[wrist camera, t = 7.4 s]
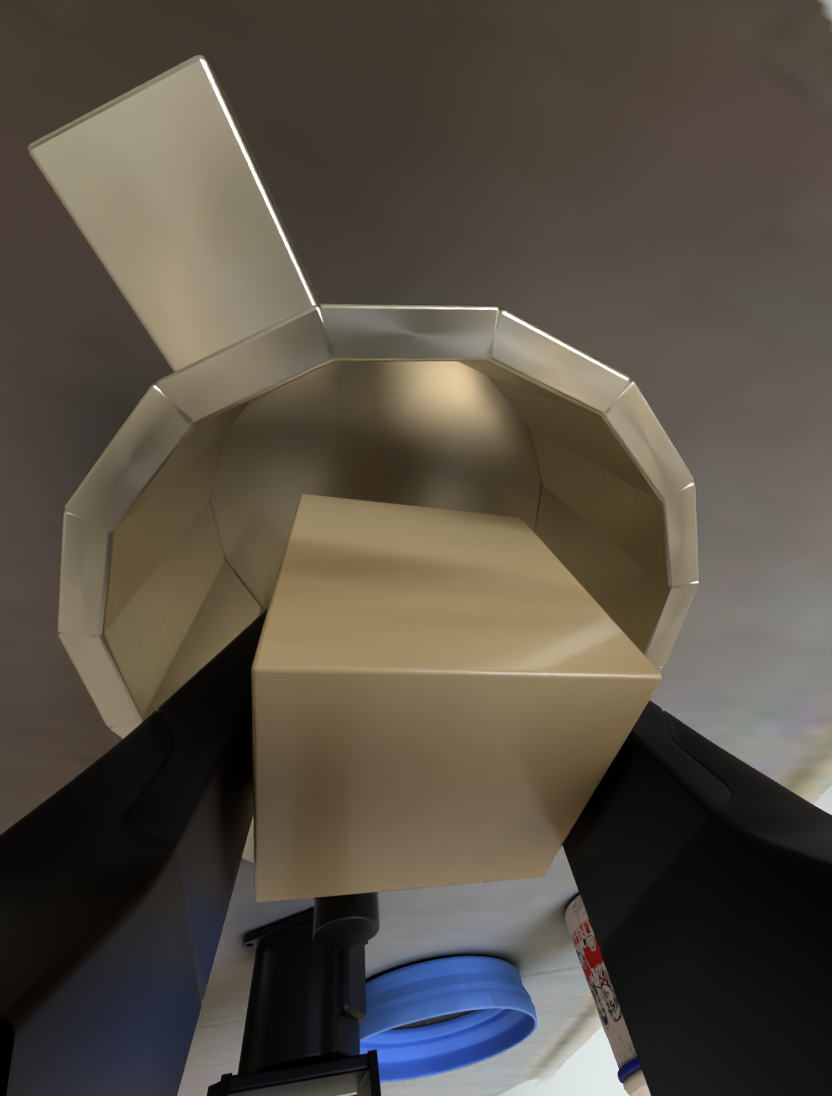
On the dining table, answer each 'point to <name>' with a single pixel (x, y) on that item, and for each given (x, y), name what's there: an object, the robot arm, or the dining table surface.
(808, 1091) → the robot arm
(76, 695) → the dining table surface
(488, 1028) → the bowl
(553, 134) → the dining table surface
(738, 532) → the dining table surface
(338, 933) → the lid
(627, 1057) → the teacup with lid
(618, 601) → the pot
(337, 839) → the cube
